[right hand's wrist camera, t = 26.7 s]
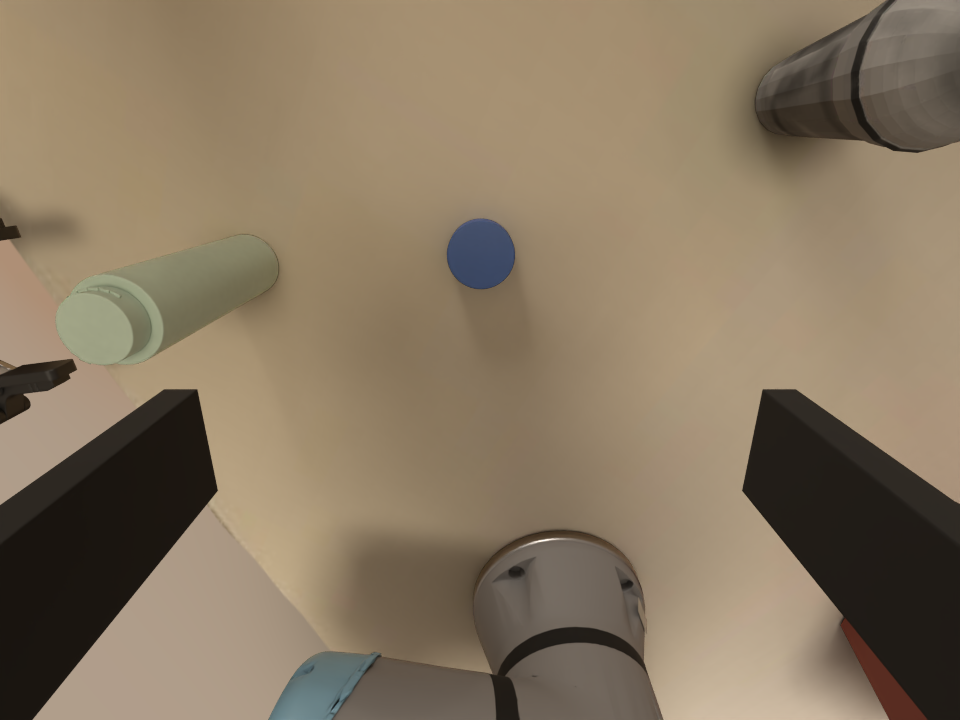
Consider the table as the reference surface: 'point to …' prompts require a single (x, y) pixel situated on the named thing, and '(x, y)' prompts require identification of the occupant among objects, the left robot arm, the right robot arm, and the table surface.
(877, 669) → the bucket
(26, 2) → the table surface
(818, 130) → the beverage cup
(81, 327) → the bottle
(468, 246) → the lid
